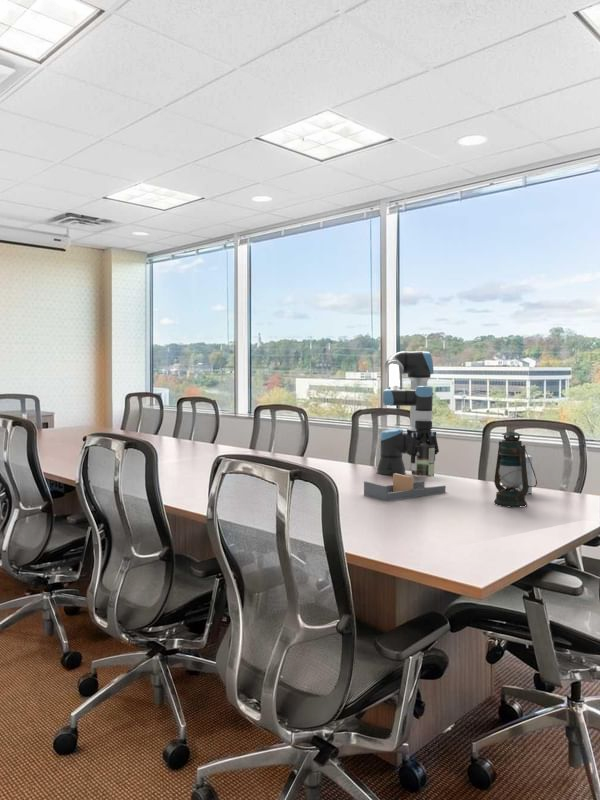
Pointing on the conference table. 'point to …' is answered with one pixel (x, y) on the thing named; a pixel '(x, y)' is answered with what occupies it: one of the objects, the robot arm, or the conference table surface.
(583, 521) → the conference table surface
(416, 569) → the conference table surface
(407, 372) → the robot arm
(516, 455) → the lantern
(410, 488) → the block
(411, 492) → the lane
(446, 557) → the conference table surface
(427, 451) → the coffee can
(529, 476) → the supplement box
